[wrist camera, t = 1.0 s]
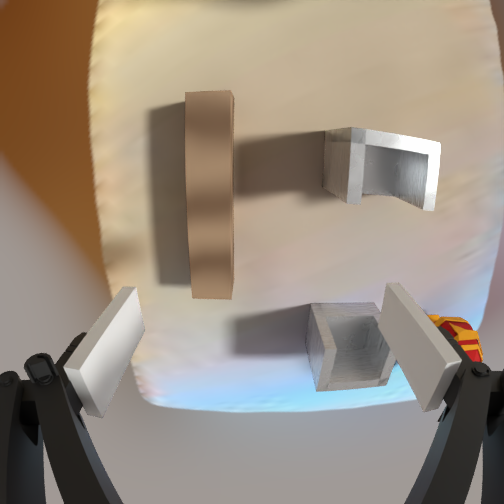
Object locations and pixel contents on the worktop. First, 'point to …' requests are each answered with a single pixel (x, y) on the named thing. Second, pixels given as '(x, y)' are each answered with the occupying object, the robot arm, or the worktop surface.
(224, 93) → the rail
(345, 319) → the bracket
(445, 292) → the worktop surface
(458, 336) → the potion bottle
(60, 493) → the robot arm
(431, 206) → the bracket
